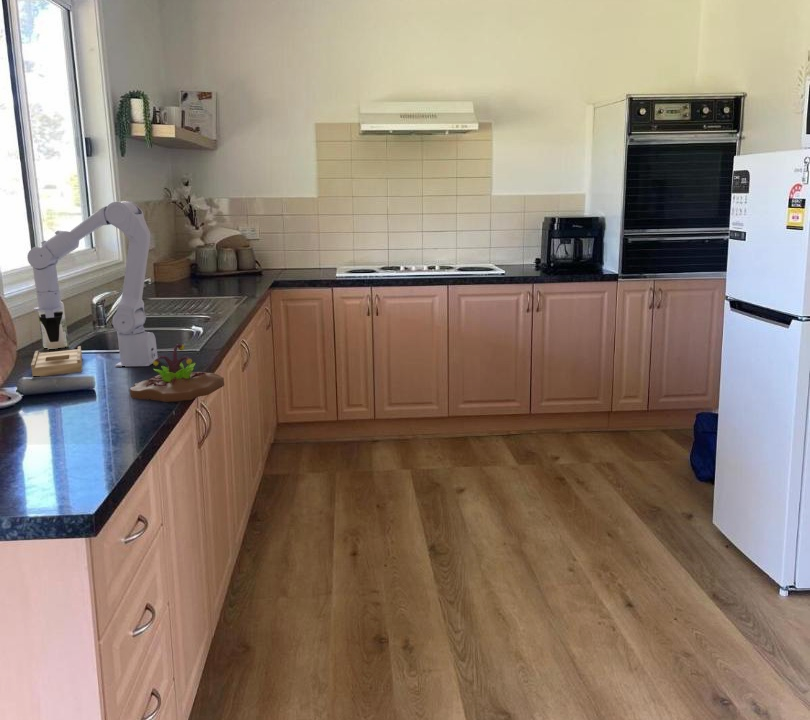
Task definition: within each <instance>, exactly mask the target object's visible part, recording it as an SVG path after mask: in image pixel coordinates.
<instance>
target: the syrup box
mask: <svg viewBox="0 0 810 720" xmlns="http://www.w3.org/2000/svg"><path fill="white" fill-rule="evenodd" d="M64 303H65V302H63V301H61V306H62V307H63V309H61V310H59V311H63V314H62V319H61V321H60V324H62V328H63V335H64V342H65V346H64V347H61V349H65V347H66V348H69V347H70V345H69V337H68V336H69V334H68V329H67V328H68V327H67V319H66V314H65V313H66V311H65V305H64ZM36 308H38V302H37V303H36ZM56 312H58V311H56ZM41 314H45V313H43V312H40V311H37V315H38V321H39V329H40V334H41V335H40V336H41V337H40V338H41V342H42V348H43V347H44V348H47V346H46V339H45V332H44V325H43V324H42V322H41V321H40V319H39V317H41ZM44 348H43V349H44ZM54 349H55V350H59V349H58V348H54Z"/></svg>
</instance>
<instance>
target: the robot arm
mask: <svg viewBox="0 0 810 720" xmlns="http://www.w3.org/2000/svg"><path fill="white" fill-rule="evenodd" d="M144 217H145V215H144V211H143V210H142V209H141V208H140V207H139V206H138V205H137V204H136V202H133V201H131V200H124V201H113V202H110V203H108V205H107V206H106V205H105V206H103V207H101V208H100V209H98V210H96V211H95V212H94V213H92V214H91V215H90V216H88V217H87V218H86V219H84V220H82V222H80V223H79V224H78V225H76V226H75V227H73V228H72V229H70V230H69V229H65V228H64V229H62V230H61V229H58V230H57V231H55V232H54V234H55V235H54V236H53V235H52V237H50V238H48V239H47V240H43V241H41V242H40V243H41V246H33V247H32V248H31V249H30V250H29V251H28V253H27V257H26V258H27V262H28V264H29V265H30V266H31V267H32V270H33V271H32V272H33V278H34V286H35V292H36V298H37V303H38V308H37V307H33V311H34V312H38V311H40V312H43V313H45V314H41V317H39V316H38V320H39V319H40V321H41V322H42V324H43V325H44V327H45V329H46V332H47V335H48V338H49V340H50V342H58V341H59V327H60V321H61V319H62V314H63V311H59V310H61V309H63V307H62V306H61V302H62V300H61V292H60V285H59V278H58V272H57V264H58V262H59V260H61V259H63V258H65V257H66V256H67V255H69V254H70V253H72V252H73V251H74V250H76V249H77V248H79V245H80V241H81V240H82V239H83V238H86V237H87V236H88V235H90V234H91V233H93V232H94V231H97V230H98V229H100V228H101V227H103V226H109V225H112V226H113V227H114V228H116V229H118V230H120V231H121V232H122V233H123V234H124V235H125V236H126V238H127V239H128V240H129V241H128V242H129V243H128V247H127V255H126V263H125V272H124V280H123V286H122V295H121V298H120V301H119V302H118V304H117V309H116V312H115V313H114V314H113V316H112V321H111V323H112V326H113V329H114V330H115V331H116V335H117V342H118V350H119V351H118V352H119V359H120V361H119V362H118V363H116V364H114V367H116V368H117V367H122V366H125V367H149V366H151V365H152V364H153V362H154V360H156V359H157V358H159V355H158V350H157V349H158V348H157V339H156V336H155V334H154V332H150V331H145V327H144V324H145V322H146V320H147V315H146V311H145V302H144V300H143V294H144V286H145V278H146V273H147V266H148V258H149V257H148V256H149V250H150V245H151V243H150V242H151V231H150V229H149V227H148V225H147V222H146V219H145V218H144ZM56 311H58V312H56Z"/></svg>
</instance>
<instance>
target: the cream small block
mask: <svg viewBox="0 0 810 720" xmlns="http://www.w3.org/2000/svg"><path fill="white" fill-rule="evenodd" d="M44 332H45V339H46V346H47V348H48V349H47V350H49V349H54V348H61V347H64V346H65V342H64V335H63V328H62V324H60V327H59V341H58V342H50V340H49V338H48V335H47V332H46V329H45V327H44ZM61 349H62V348H61Z"/></svg>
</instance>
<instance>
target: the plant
mask: <svg viewBox="0 0 810 720" xmlns="http://www.w3.org/2000/svg"><path fill="white" fill-rule="evenodd" d="M184 349H185V345H184V344H182V343H177V344H175V346H174V348H173V351H172V352H173V353H172V360H171V359H170V358H169V357H167V356H166V355H160V356H158V358H157V359H156V360H154V362H153V363H152V364H153V366H154V367H157V366H158V365H159V364H160V359H164V360H165V361H166V364H167V366H164V365H161V366H160V367H161V369H159V368H158V369H157V368H153V371H155V372H156V373H158V374H157V375H155V376H152V378H148V379H146V380H142V381H139V382H136V383H134V384H133V385H134V386H132V387H129V396H130V397H131V398H132V399H134V398H137V399H136V400H149V399H151V400H152V401H158V402H159V401H160V402H162V403H163V402H164V403H165V402H166V403H167V402H168V403H169V402H180V401H181V402H182V401H191V400H194V399H196V398H199V397H204V396H209V395H211V394H212V393H214V392H216V391H217V390H219V389H221V388H222V387H224V386H225V378H224V377H223V376H221V375H220V374H217V373H215V372H206V371H205V372H203V371H193V370H195V368H194V367H195V366H196V362H193V360H192V358H190V356H182V357H180V358H179V359H178V352H177V351H178V350H179V351H184ZM184 360H185V362H186V364H187V366H186V367H184V364H183V361H184ZM151 400H150V401H151Z"/></svg>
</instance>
